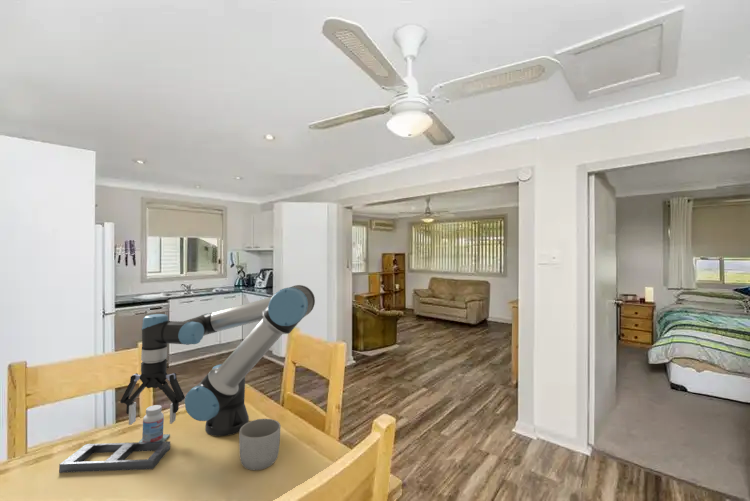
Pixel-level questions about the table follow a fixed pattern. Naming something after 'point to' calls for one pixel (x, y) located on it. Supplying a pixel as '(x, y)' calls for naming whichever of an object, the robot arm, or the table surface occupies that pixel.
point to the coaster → (162, 439)
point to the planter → (259, 443)
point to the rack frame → (114, 457)
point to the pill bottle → (153, 424)
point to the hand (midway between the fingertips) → (152, 422)
